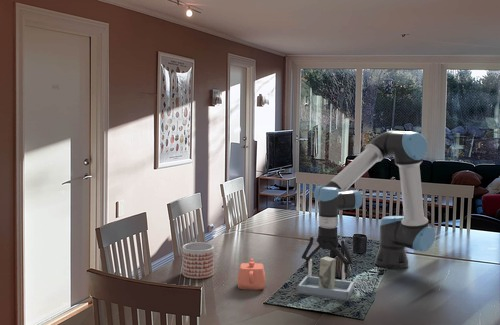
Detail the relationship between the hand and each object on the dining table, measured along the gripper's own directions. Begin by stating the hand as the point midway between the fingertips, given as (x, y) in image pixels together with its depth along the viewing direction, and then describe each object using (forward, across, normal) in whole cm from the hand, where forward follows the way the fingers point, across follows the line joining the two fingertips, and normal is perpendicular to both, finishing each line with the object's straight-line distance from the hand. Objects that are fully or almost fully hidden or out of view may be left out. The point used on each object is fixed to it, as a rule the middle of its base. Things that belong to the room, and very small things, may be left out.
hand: (326, 278), depth 204 cm
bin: (+6, 0, 0) cm, 6 cm away
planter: (+6, -57, 0) cm, 57 cm away
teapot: (+6, -30, -6) cm, 31 cm away
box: (+5, 0, 0) cm, 5 cm away
